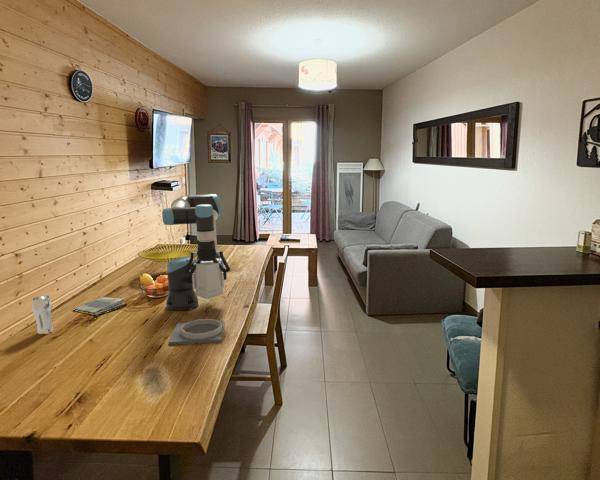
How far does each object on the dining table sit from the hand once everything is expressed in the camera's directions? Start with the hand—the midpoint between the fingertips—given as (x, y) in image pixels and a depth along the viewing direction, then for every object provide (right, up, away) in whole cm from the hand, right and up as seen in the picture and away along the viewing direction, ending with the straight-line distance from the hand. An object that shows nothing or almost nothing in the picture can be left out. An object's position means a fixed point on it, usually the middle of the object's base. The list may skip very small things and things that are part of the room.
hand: (208, 287), depth 196 cm
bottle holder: (-1, -17, -18) cm, 24 cm away
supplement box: (0, -4, +1) cm, 4 cm away
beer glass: (-65, -17, -13) cm, 69 cm away
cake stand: (-36, 0, +72) cm, 80 cm away
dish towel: (-55, -12, +16) cm, 59 cm away
